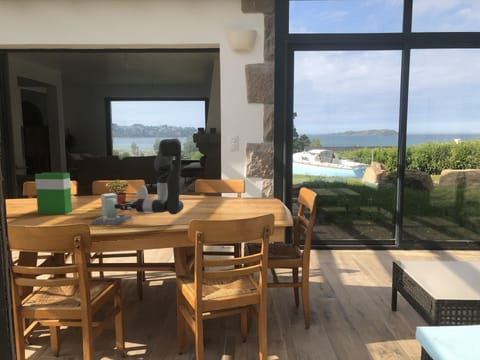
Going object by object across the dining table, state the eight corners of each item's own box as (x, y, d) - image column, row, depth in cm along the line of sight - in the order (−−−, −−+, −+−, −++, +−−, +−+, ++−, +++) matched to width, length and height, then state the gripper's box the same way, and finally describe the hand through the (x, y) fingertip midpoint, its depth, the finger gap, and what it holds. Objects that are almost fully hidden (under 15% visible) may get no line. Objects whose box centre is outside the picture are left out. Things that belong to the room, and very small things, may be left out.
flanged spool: (109, 216, 225) (108, 197, 224) (122, 217, 224) (121, 198, 222) (101, 220, 217) (100, 200, 216) (115, 220, 216) (114, 200, 214)
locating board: (108, 217, 231) (108, 209, 230) (131, 218, 228) (131, 210, 227) (91, 224, 213) (91, 216, 213) (115, 225, 211) (115, 217, 210)
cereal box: (37, 213, 241) (35, 174, 238) (45, 211, 248) (42, 172, 245) (65, 214, 239) (63, 174, 236) (72, 211, 247) (69, 173, 243)
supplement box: (105, 217, 231) (104, 195, 229) (101, 215, 237) (100, 194, 235) (118, 215, 235) (117, 194, 233) (114, 213, 241) (113, 192, 239)
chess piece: (138, 207, 259) (138, 184, 257) (152, 207, 257) (151, 184, 255) (130, 210, 250) (130, 186, 248) (145, 211, 247) (144, 187, 245)
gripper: (151, 196, 222) (124, 195, 225) (140, 201, 208) (111, 200, 211) (152, 209, 223) (125, 208, 226) (140, 215, 209) (112, 214, 212)
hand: (118, 204), depth 219 cm, fingers open, 8 cm apart
